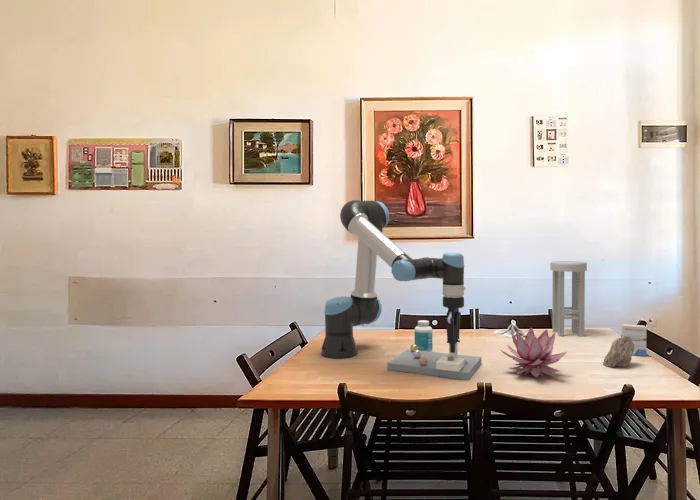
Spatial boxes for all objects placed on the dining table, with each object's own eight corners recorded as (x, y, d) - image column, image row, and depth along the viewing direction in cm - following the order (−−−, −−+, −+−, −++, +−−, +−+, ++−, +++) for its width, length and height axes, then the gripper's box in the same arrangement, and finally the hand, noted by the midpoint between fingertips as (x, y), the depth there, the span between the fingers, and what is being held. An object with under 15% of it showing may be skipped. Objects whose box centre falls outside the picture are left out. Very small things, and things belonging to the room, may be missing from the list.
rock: (628, 355, 167) (605, 344, 172) (619, 378, 171) (597, 366, 177) (643, 340, 175) (620, 330, 181) (634, 362, 180) (613, 352, 185)
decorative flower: (560, 387, 153) (561, 341, 152) (494, 376, 164) (494, 334, 164) (569, 369, 171) (569, 328, 170) (509, 361, 182) (509, 323, 182)
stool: (546, 330, 237) (547, 261, 236) (579, 330, 235) (579, 260, 234) (555, 337, 222) (556, 263, 221) (590, 337, 220) (591, 263, 219)
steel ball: (412, 358, 180) (411, 350, 180) (414, 356, 183) (414, 348, 183) (420, 359, 179) (419, 351, 178) (422, 357, 181) (422, 349, 181)
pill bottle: (432, 355, 193) (432, 323, 192) (414, 355, 194) (413, 322, 194) (432, 351, 200) (432, 319, 200) (415, 350, 202) (414, 319, 201)
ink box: (644, 353, 191) (644, 325, 191) (646, 356, 187) (646, 327, 186) (620, 351, 195) (620, 323, 194) (621, 354, 190) (622, 325, 190)
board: (387, 369, 175) (387, 363, 174) (407, 355, 194) (407, 349, 194) (468, 380, 161) (468, 373, 161) (481, 363, 181) (481, 357, 181)
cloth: (544, 338, 222) (544, 325, 222) (509, 341, 218) (509, 328, 217) (517, 329, 244) (517, 317, 243) (484, 331, 239) (484, 319, 239)
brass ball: (409, 352, 189) (409, 344, 189) (411, 350, 192) (411, 342, 192) (416, 353, 187) (416, 345, 187) (419, 351, 190) (419, 343, 190)
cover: (436, 369, 165) (436, 358, 165) (442, 363, 172) (442, 353, 172) (458, 371, 161) (458, 361, 161) (464, 365, 168) (464, 355, 168)
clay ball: (417, 365, 171) (417, 356, 170) (420, 363, 173) (420, 354, 173) (426, 366, 169) (426, 357, 169) (429, 364, 172) (428, 355, 172)
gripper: (459, 299, 162) (459, 366, 163) (467, 294, 174) (467, 357, 175) (438, 297, 166) (438, 364, 167) (447, 293, 177) (448, 355, 178)
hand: (453, 360), depth 171 cm, fingers closed
